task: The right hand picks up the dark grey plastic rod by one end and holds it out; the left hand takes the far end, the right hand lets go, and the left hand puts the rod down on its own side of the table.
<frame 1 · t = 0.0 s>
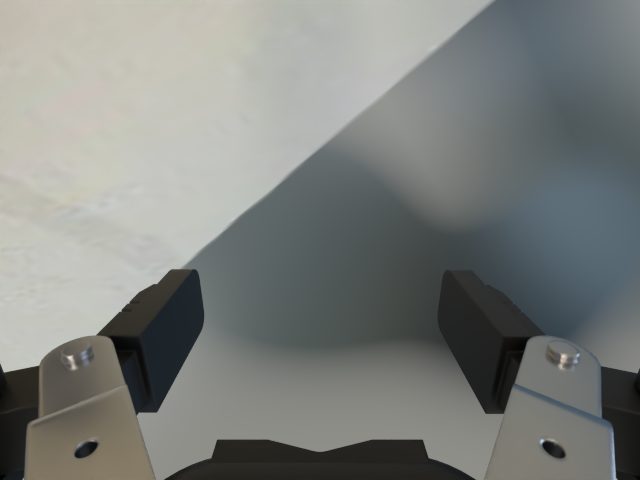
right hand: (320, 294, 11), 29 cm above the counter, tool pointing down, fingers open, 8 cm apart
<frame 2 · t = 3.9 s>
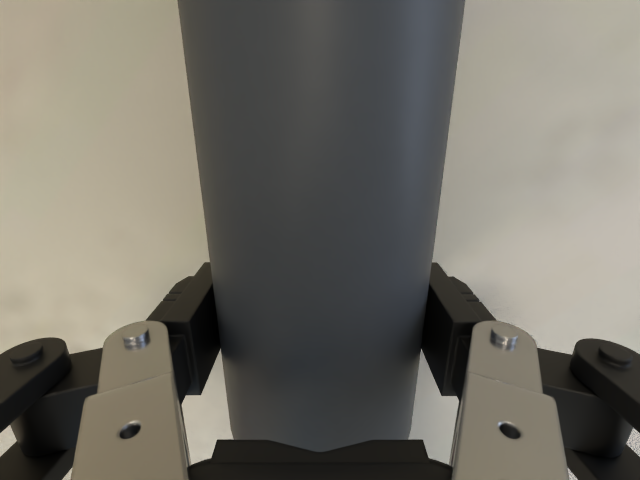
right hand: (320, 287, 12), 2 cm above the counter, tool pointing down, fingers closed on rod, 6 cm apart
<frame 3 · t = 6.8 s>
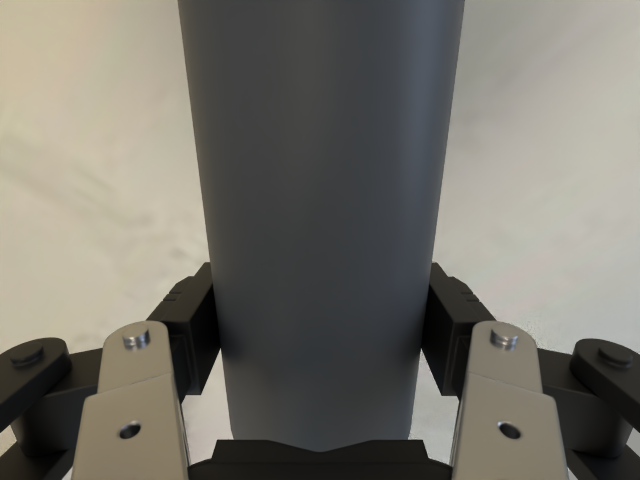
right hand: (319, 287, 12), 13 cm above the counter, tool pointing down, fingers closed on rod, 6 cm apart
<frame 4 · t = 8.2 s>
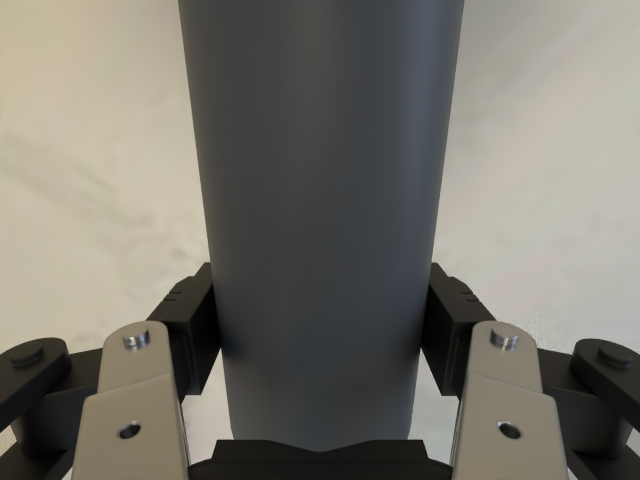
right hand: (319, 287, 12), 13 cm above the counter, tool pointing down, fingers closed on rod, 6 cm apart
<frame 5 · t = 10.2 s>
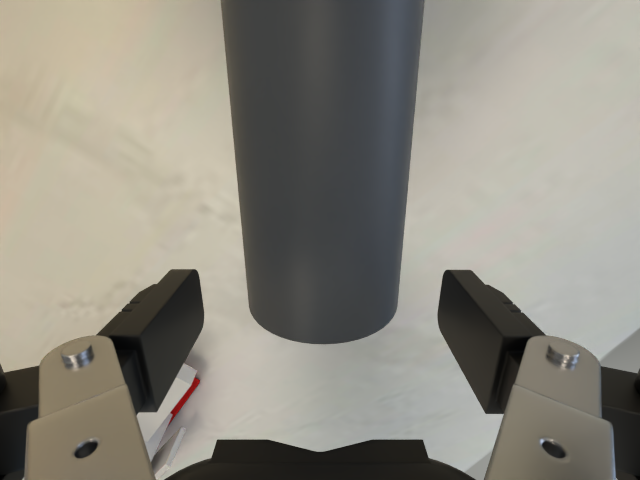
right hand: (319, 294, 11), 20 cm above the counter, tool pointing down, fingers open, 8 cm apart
toy: (115, 419, 39), on the counter
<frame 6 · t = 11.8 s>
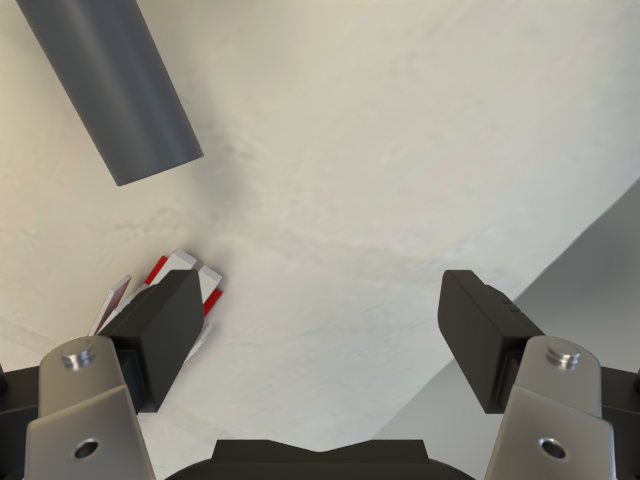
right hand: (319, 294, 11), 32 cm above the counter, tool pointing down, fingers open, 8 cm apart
toy: (152, 327, 49), on the counter
when the left hand's fingers open (4 cm above the counter, at t = 15.7 s): rod stays where it is, on the counter.
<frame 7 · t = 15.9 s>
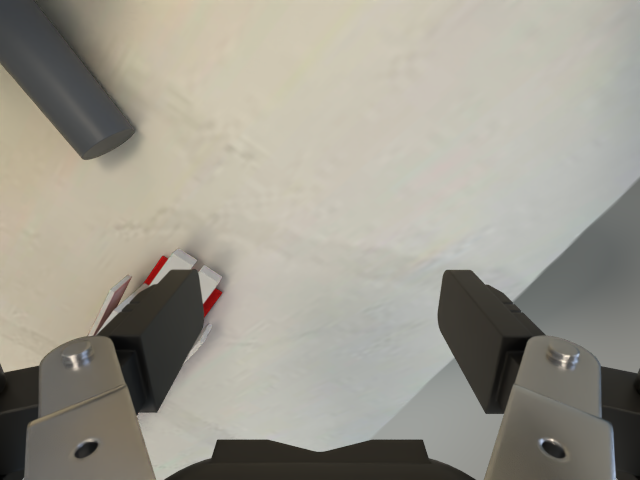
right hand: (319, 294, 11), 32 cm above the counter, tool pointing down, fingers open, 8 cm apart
toy: (152, 327, 49), on the counter
rod: (39, 35, 36), on the counter
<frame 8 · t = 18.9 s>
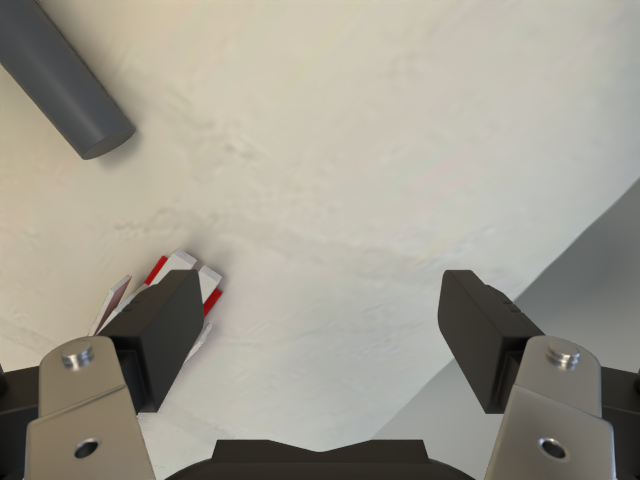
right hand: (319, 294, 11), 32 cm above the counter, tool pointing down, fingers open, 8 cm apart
toy: (152, 327, 49), on the counter
rod: (39, 35, 36), on the counter
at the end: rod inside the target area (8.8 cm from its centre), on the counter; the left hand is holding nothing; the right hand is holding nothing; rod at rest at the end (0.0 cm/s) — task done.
